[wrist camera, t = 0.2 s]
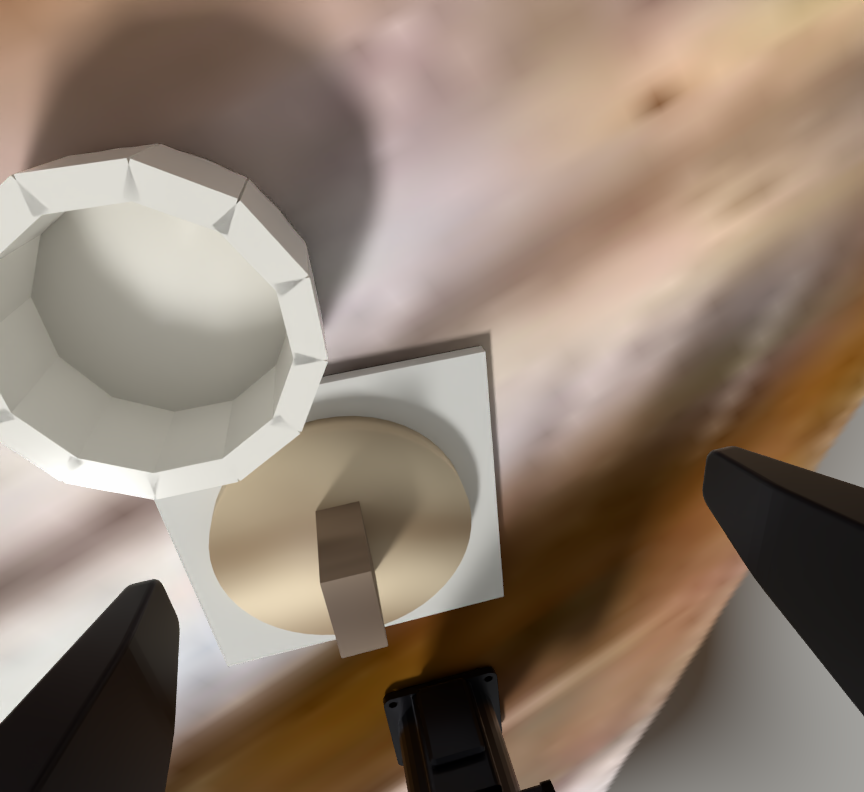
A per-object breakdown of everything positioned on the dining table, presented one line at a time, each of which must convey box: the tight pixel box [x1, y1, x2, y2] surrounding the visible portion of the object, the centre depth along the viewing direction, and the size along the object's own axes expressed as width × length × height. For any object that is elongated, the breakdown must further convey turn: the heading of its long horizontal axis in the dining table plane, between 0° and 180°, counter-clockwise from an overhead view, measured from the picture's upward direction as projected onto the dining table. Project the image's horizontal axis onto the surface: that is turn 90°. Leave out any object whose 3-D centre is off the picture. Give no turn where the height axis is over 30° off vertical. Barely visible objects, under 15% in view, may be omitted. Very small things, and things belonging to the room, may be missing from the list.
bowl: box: [0, 144, 328, 499], centre depth 19 cm, size 10×10×4 cm
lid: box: [209, 416, 471, 658], centre depth 24 cm, size 11×11×5 cm
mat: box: [154, 346, 504, 667], centre depth 26 cm, size 14×14×1 cm
